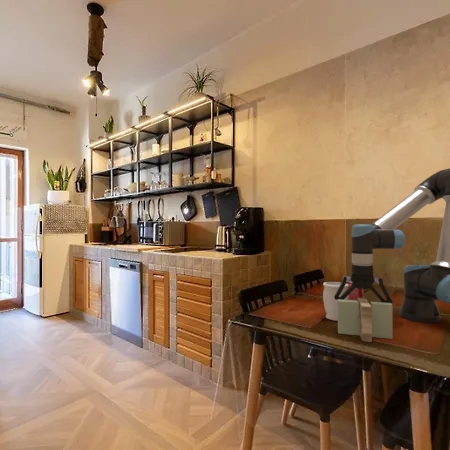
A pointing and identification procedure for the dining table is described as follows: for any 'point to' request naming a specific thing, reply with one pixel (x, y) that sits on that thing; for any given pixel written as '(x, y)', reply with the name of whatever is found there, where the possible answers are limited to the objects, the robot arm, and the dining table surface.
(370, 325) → the wooden arch block
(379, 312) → the notched green slab
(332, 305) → the jar
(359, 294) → the soda can
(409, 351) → the dining table surface
